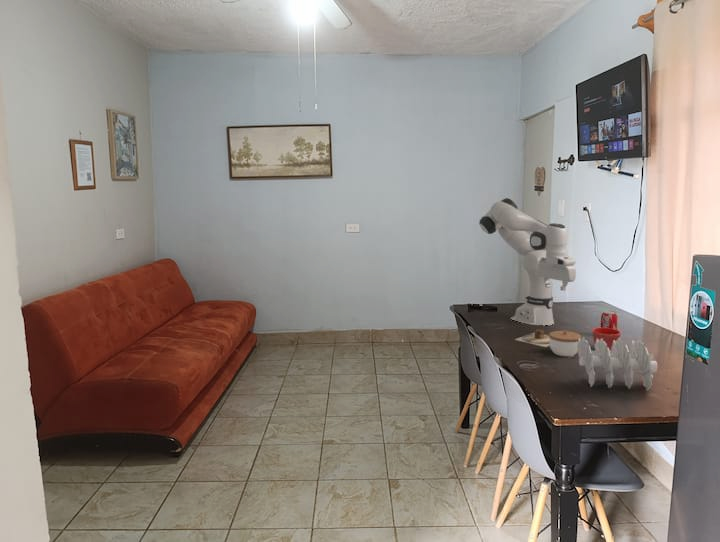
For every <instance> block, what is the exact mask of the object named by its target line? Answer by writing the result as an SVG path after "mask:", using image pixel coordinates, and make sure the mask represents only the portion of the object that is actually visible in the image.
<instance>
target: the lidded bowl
mask: <svg viewBox="0 0 720 542" xmlns="http://www.w3.org/2000/svg"><path fill="white" fill-rule="evenodd" d="M548 335H549V337H550V338H549V342H550V346H549V347H550V349H551V351H552V353H553V354H555V355H556V356H559V357H568V359H572V358H574V356H575V355H577V354H578V350H577V343H578V339H579V338H580V340H581V339H582V336H581V334H580V333H577V332H575V331H574V332H573V331H568V330H565V329H564V330H556V331H552V332H549V334H548ZM571 357H572V358H571Z"/></svg>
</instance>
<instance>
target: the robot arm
mask: <svg viewBox="0 0 720 542" xmlns="http://www.w3.org/2000/svg"><path fill="white" fill-rule="evenodd" d="M479 227H480V229H481V230H482V231H483V232H484V233H486V234H488V235H492V234H493V233H495V232H498V234H499V236H500V237H501V238H502V239H503V241H505V243H506V244H507V245H508V246H509V247H511V248H512V249H513V250H514V251H515V252H516V253H518V254H519V255H521V256H523V257H522V260H521V265H522V267H523V269H524V270H526V271H527V275H528V279H529V295H528V296H526V297H525V298H524V299H525V300H526V302H525V303H523V304H521V305H520V306H518V307H517V308H516V311H515V314H514V316H511V317H510V320H511V319H512V320H515V321H518V322H517V323H519V322H521V323H520V324H528V325H534V326H539V325H543V327H544V326H545V325H548V326H553V325H554V324H555V321H554V320H555V319H554V316H553V306H554V305H553V303H554V300H553V299H554V297H553V281H552V280H557V281H560V282H561V283H562V285H561V286H560V288H559V289H560V291H562V292H564V291H566V289H567V288H566V287H567V286H568V284H569V283H572V282H575V280H576V276H577V275H576V273H577V272H576V266H575V264H576V259H574V258H572V257H571V256H568V254H567V253H568V252H567V244H568V234H567V233H568V231H567V228H566V226H565V225H563V224H561V223H556V222H555V223H548V224H546V223H544V222H543V221H541V220H539V219H537V218H534V217H532V216H531V215H528V214H526V213H524V212H523V211H521V210H519V209H518V206H517V204H516V202H514V200H512V199H511V198H507V197H506V198H503V199H502V200H500V201H496V202H494V203H493V204H492V205H491V207H490V210H488V212H486V213H485V214H484V216H482V217H481V218H480V219H479ZM528 232H530V233H531V235H530V234H529V233H528ZM512 320H511V321H512ZM515 321H514V322H515ZM552 324H553V325H552ZM545 327H546V326H545Z"/></svg>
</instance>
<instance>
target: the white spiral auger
mask: <svg viewBox="0 0 720 542" xmlns="http://www.w3.org/2000/svg"><path fill="white" fill-rule="evenodd" d="M645 345H646V344H645V343H644V342H642V341H640V338H637V339H636V340H635V341H634V340H631V343H630V346H629V347H628V345H627V344H626V341H624V340H622V339H621V337H620V338H618V339H617V341H616V342H615V340H613V344H612V348H611V349H612V350H609V348H607V344H606V343H605V341H603V338H601V339H600V340H599V341H598V339H596V343H595V345H594V350H593V349H591V345H589V342H588V340H587V339H585V336H582V337H581V340H580V338H579V339H578V343H577V350H578V352H577V354H578V363H579V364H578V365H579V366H580V367H585V373H586V374H587V375H588V384H589V385H590V388H592V387H593V386H594V385H595V379H596V372H595V368H603V375H605V377H606V378H605V381H606V382H605V384H606V385H607V389H610V388H612V387H613V384H614V383H613V382H614V379H615V378H614V377H615V376H614V374H613V371H614V369H615V370H622V371H623V378H624V379H623V380H625V381H624V382H625V383H624V384H625V387H627V389H631V387H632V385H633V384H634V382H633V381H634V376H635V372H634V371H636V372H641V380H642V381H643V383H642V385H643V386H642V387H645V388H646V389H645V390H646V391H649V390H650V388H651V387H652V384H653V381H654V376H653V373H657V371H658V362H657V360H655V356H654V355H655V353H651V352H650V353H649V350H648V348H647V346H645Z"/></svg>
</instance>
